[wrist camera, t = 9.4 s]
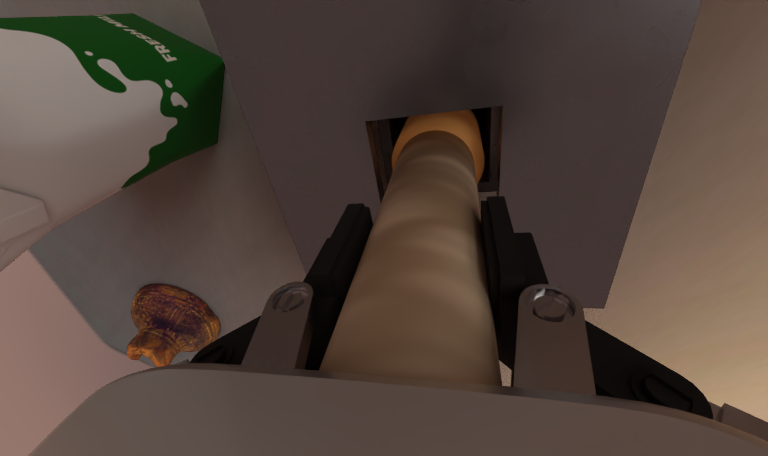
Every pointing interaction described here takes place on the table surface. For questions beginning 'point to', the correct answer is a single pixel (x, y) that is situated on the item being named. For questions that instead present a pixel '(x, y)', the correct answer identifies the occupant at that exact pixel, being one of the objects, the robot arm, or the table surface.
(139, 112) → the milk carton
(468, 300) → the dowel
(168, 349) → the brown rounded piece
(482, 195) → the table surface
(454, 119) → the orange-brown round lump
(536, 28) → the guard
